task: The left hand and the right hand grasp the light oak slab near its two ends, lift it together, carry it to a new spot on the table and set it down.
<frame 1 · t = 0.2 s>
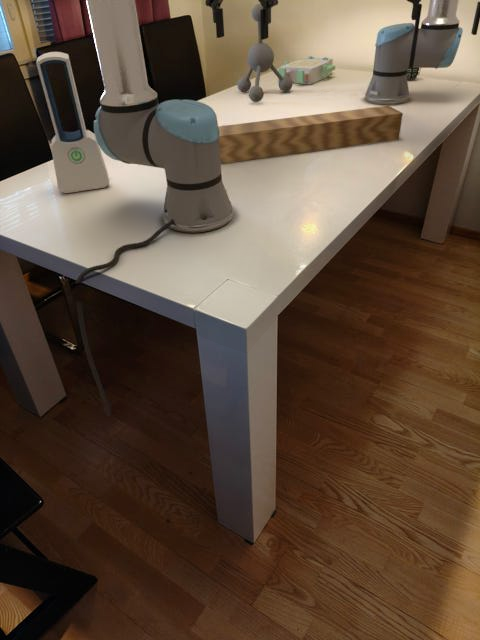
left hand: (242, 38, 129), 27 cm above the table, tool pointing down, fingers open, 13 cm apart
right hand: (444, 34, 120), 27 cm above the table, tool pointing down, fingers open, 13 cm apart
grenade: (410, 80, 197), on the table
electronic device: (85, 185, 125), on the table
decorative block: (305, 78, 208), on the table
slab: (286, 149, 139), on the table
molecular model: (266, 95, 189), on the table
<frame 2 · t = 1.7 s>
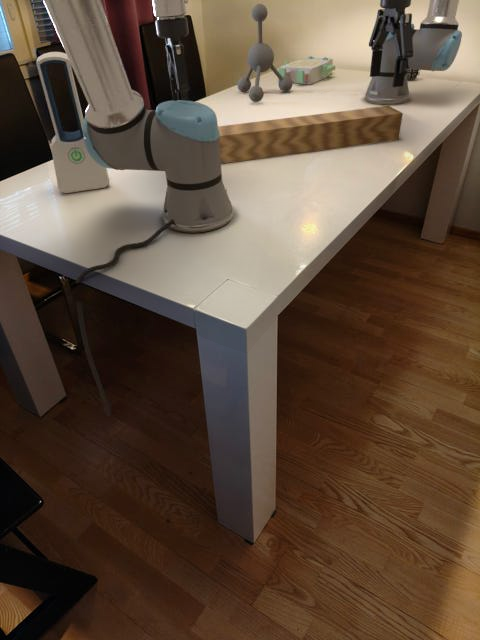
left hand: (182, 112, 127), 13 cm above the table, tool pointing down, fingers open, 13 cm apart
right hand: (385, 81, 135), 15 cm above the table, tool pointing down, fingers open, 13 cm apart
nothing on the table moved.
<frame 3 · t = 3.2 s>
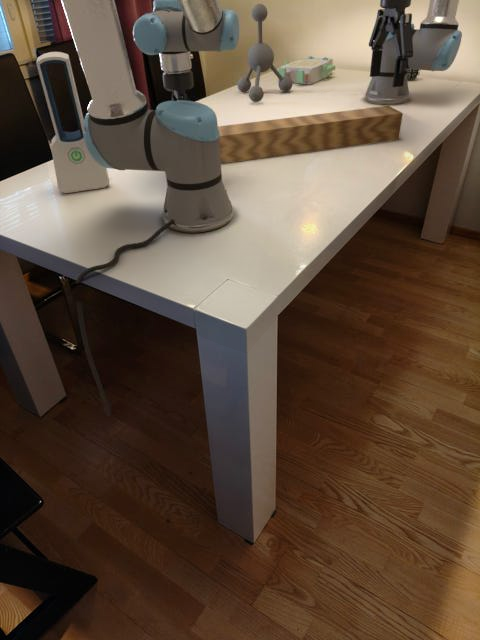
left hand: (187, 160, 135), 0 cm above the table, tool pointing down, fingers closed on slab, 9 cm apart
right hand: (385, 81, 135), 15 cm above the table, tool pointing down, fingers open, 13 cm apart
slab: (286, 149, 139), on the table, touching left hand
everything else where it was.
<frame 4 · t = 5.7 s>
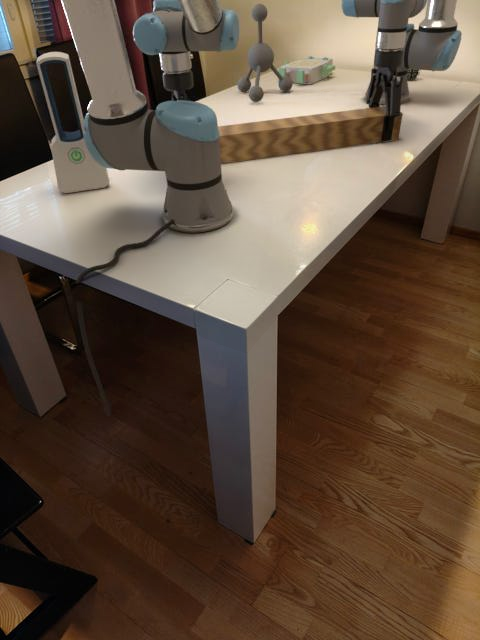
left hand: (187, 160, 135), 0 cm above the table, tool pointing down, fingers closed on slab, 9 cm apart
right hand: (379, 135, 144), 0 cm above the table, tool pointing down, fingers closed on slab, 9 cm apart
slab: (286, 149, 139), on the table, touching left hand, right hand
everything else where it was.
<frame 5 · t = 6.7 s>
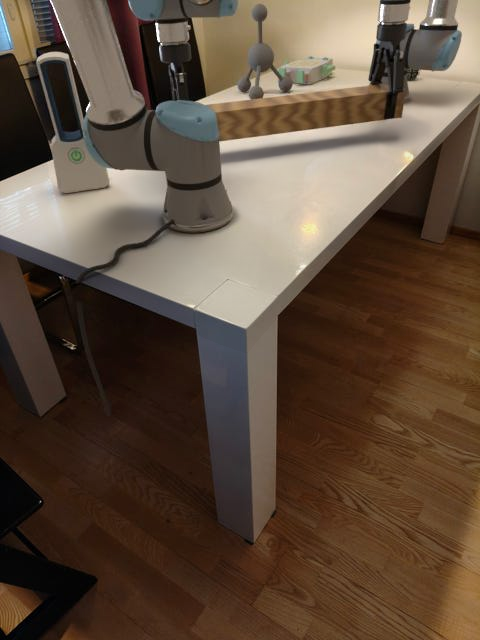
left hand: (185, 138, 131), 7 cm above the table, tool pointing down, fingers closed on slab, 9 cm apart
right hand: (381, 113, 140), 7 cm above the table, tool pointing down, fingers closed on slab, 9 cm apart
slab: (286, 127, 136), point 6 cm above the table, touching left hand, right hand
everything else where it was.
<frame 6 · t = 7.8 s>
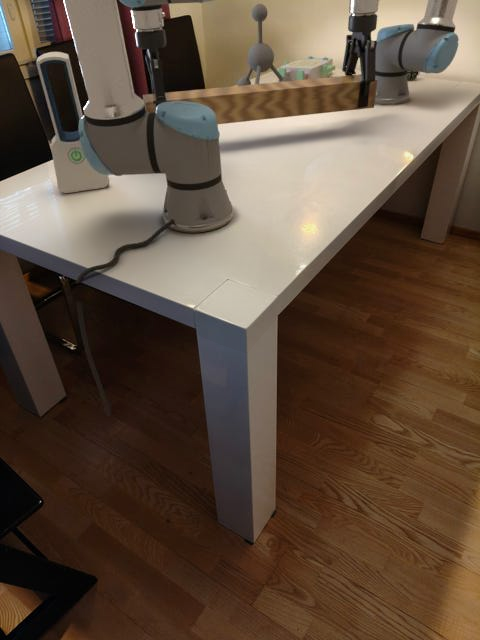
left hand: (162, 123, 135), 9 cm above the table, tool pointing down, fingers closed on slab, 9 cm apart
right hand: (355, 102, 145), 8 cm above the table, tool pointing down, fingers closed on slab, 9 cm apart
slab: (262, 115, 140), point 8 cm above the table, touching left hand, right hand
everything else where it was.
when the left hand's fingers open (2 cm above the table, at t = 10.2 s): slab drops 1 cm, on the table.
when the right hand's fingers open (2 cm above the table, at t = 10.2 s): slab drops 1 cm, on the table.
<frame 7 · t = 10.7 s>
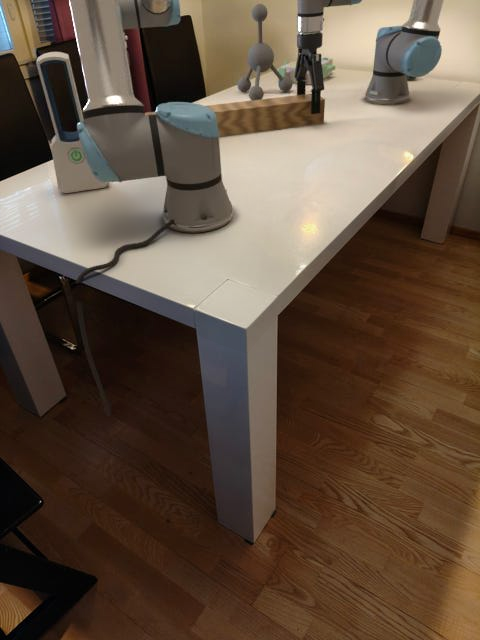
left hand: (128, 129, 148), 4 cm above the table, tool pointing down, fingers open, 13 cm apart
right hand: (307, 108, 157), 4 cm above the table, tool pointing down, fingers open, 13 cm apart
slab: (221, 132, 155), on the table
everything else where it was.
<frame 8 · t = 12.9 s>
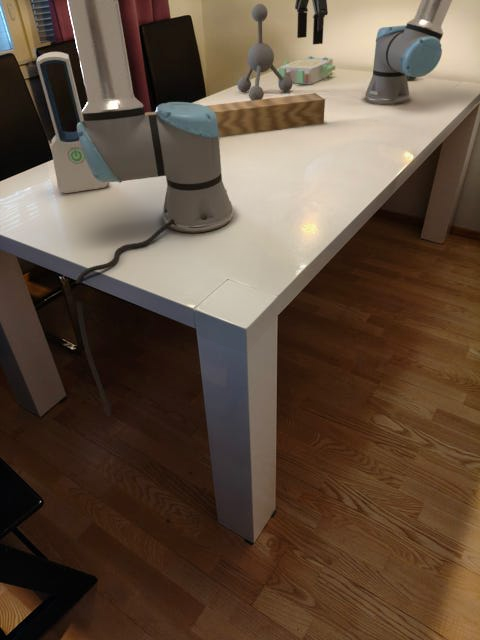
left hand: (115, 59, 136), 23 cm above the table, tool pointing down, fingers open, 13 cm apart
right hand: (309, 40, 145), 23 cm above the table, tool pointing down, fingers open, 13 cm apart
nothing on the table moved.
at the end: slab inside the target area (0.2 cm from its centre), on the table; slab tilted 0°; slab never tilted more than 1° during the clip; both hands held the slab at the same time; the left hand is holding nothing; the right hand is holding nothing; slab at rest at the end (0.0 cm/s) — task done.
